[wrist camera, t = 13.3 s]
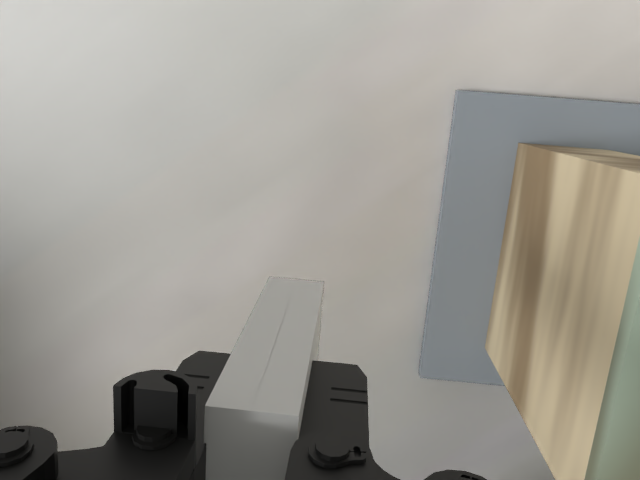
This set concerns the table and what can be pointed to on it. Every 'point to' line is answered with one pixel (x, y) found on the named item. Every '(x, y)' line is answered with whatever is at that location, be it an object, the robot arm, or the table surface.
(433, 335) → the mat
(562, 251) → the slab
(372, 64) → the table surface
